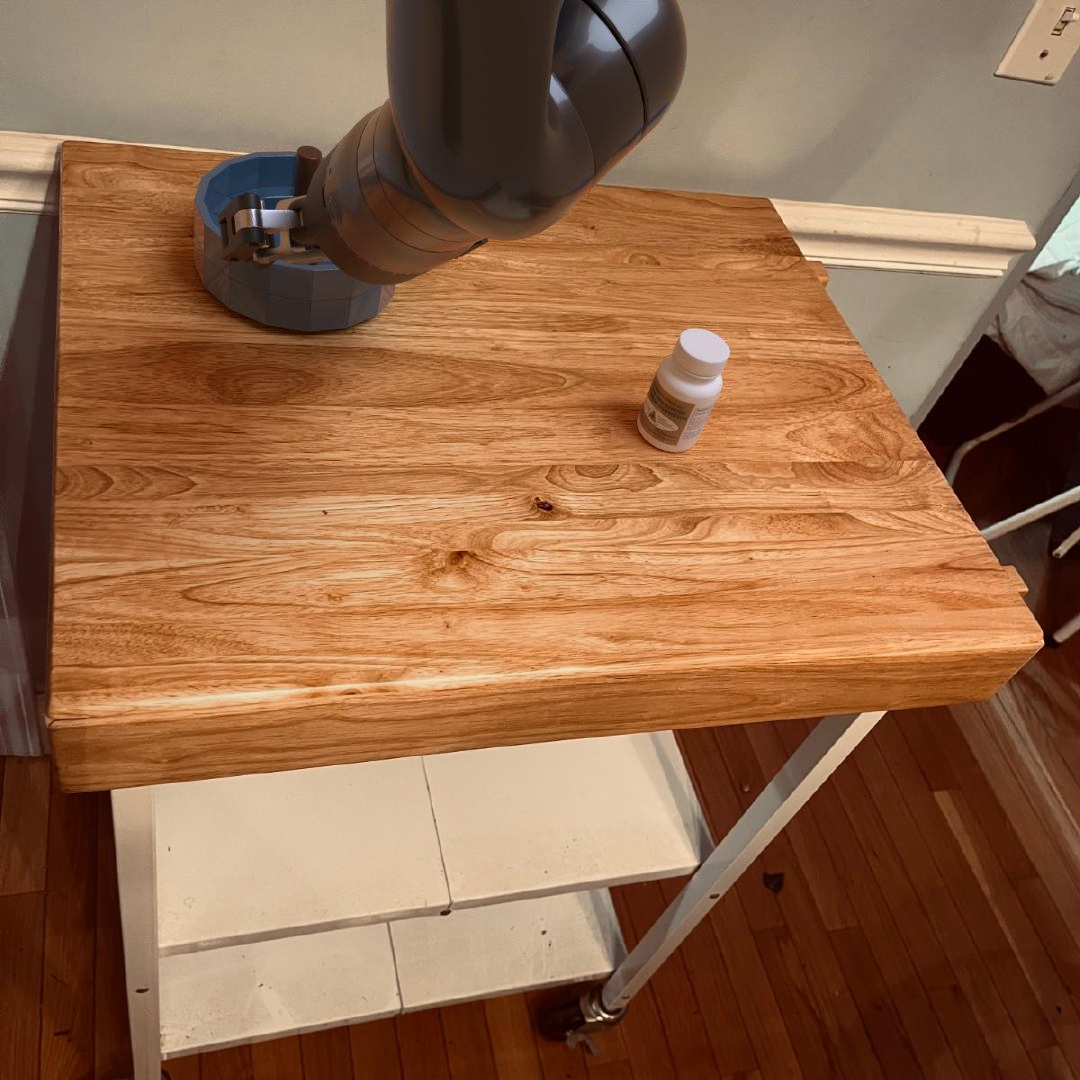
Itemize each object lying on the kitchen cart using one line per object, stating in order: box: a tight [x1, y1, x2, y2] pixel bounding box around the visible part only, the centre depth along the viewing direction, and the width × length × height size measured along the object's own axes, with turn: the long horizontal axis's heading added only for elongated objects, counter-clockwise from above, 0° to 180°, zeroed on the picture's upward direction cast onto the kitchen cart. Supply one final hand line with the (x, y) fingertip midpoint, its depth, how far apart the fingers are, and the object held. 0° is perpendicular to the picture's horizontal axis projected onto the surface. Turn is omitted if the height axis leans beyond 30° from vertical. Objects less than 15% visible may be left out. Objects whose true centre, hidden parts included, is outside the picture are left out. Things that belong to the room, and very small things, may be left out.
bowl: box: [193, 150, 397, 332], centre depth 73 cm, size 14×14×6 cm
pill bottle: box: [636, 327, 731, 453], centre depth 71 cm, size 4×4×8 cm
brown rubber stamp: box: [293, 145, 323, 265], centre depth 72 cm, size 2×2×9 cm
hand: (326, 251), depth 67 cm, fingers open, 8 cm apart
